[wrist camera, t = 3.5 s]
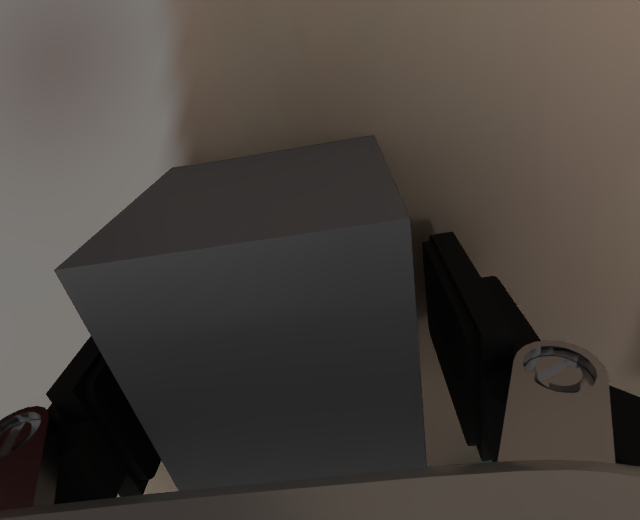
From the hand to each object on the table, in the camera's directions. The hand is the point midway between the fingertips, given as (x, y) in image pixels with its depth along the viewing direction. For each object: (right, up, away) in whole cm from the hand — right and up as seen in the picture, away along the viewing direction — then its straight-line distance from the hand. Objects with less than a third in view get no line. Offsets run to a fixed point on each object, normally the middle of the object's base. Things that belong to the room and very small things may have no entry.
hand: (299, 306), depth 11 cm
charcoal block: (0, 0, +1) cm, 1 cm away
